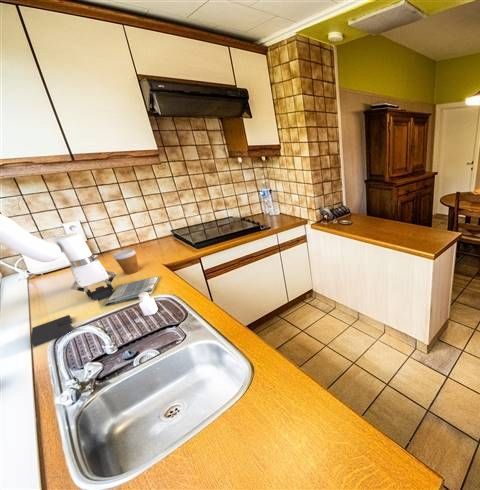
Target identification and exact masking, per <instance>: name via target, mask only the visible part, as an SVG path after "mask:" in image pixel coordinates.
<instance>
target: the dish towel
mask: <svg viewBox="0 0 480 490" xmlns="http://www.w3.org/2000/svg"><path fill="white" fill-rule="evenodd" d="M159 280H160V276H153V277H148V278H145V279H144V278H143V279H139V280H136V281H132V282H128V283H124V284H120V285H117V286H116V288H115V290H114V292H112V295H111V296H110V297H108V298H107V300H106V302H104V304H103V306H104V307H109V306H113V305H118V304H121V303H125V302H130V301H133V300H140V299H139V297H138V295H139V294H141V293H143V292H148V294H149V297H150V296H152V294H153V292H154V290H155V287H156V286H157V284H158V282H159Z"/></svg>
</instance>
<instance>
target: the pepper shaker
mask: <svg viewBox="0 0 480 490" xmlns="http://www.w3.org/2000/svg"><path fill="white" fill-rule="evenodd" d="M138 297H139V299H138V300H140V302H139V303H138V305H139V307H140V310H141V312H142V314H143V316H144V317H147V316H152V315H155V314H157V312H158V310H159V308H158V305H157V303H156V301H155V298H154V297H150V296H149V294H148V292H143V293H141V294H139V295H138Z"/></svg>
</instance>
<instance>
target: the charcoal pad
mask: <svg viewBox="0 0 480 490" xmlns="http://www.w3.org/2000/svg"><path fill="white" fill-rule="evenodd" d="M72 325H73V318H72V317H71V315H70V314H67V315H65V316H62V317H59V318H56V319H53V320H49V321H47V322H44V323H42V324H39V325H36V326H33V327H32V328H31V337H30V344H31V345H32V346H33V348H35V347H39V346H41V345H43V344H46V343H48V342H51V341H54V340H57V339H58V338H61V337H64V336H66V334H67V333H69V332H71V331H72V330H73V331H74V327H73V326H72ZM69 334H70V333H69ZM67 335H68V334H67Z"/></svg>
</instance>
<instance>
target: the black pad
mask: <svg viewBox="0 0 480 490" xmlns="http://www.w3.org/2000/svg"><path fill="white" fill-rule="evenodd" d="M94 289H95V290H93V291H91V293H92V297H93V299H92V300H94V301H98V302H99V301H102V300H104V299H109V298H110V296H111V295H112V294H113V292H110V290H109V288H108V287H107V286H105V285H101V286H98V287H95V288H94Z"/></svg>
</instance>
